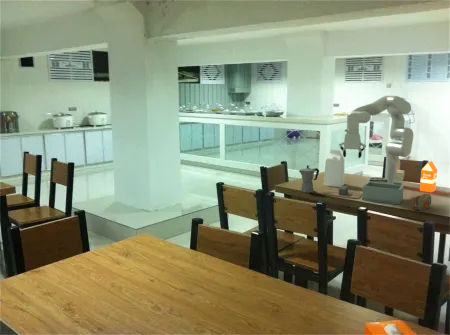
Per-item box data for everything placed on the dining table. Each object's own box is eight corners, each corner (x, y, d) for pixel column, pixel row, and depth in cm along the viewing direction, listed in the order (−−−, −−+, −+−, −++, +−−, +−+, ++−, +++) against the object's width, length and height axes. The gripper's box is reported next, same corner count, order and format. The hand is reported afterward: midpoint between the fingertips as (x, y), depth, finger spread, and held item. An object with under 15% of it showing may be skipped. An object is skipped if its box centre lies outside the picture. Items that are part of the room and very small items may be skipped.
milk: (344, 184, 308) (346, 149, 303) (339, 187, 299) (341, 151, 294) (328, 182, 315) (330, 148, 310) (323, 185, 305) (324, 150, 300)
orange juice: (435, 190, 288) (438, 161, 284) (431, 192, 282) (434, 163, 278) (423, 188, 293) (426, 160, 289) (419, 190, 287) (421, 162, 283)
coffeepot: (301, 193, 282) (302, 167, 278) (295, 190, 291) (295, 164, 287) (321, 191, 286) (322, 165, 283) (315, 188, 295) (315, 163, 292)
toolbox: (368, 193, 280) (369, 178, 278) (403, 197, 269) (404, 182, 267) (362, 199, 265) (362, 184, 263) (399, 204, 254) (400, 188, 252)
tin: (417, 211, 239) (418, 197, 237) (412, 210, 241) (413, 196, 240) (431, 207, 247) (432, 193, 246) (426, 206, 250) (427, 192, 248)
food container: (384, 191, 285) (385, 177, 283) (387, 193, 279) (388, 179, 277) (366, 191, 286) (367, 176, 285) (368, 193, 280) (369, 178, 279)
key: (397, 178, 277) (398, 170, 276) (403, 178, 275) (404, 170, 274) (395, 180, 271) (395, 172, 270) (401, 181, 269) (402, 172, 268)
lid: (329, 191, 289) (329, 183, 288) (363, 195, 278) (363, 186, 277) (323, 195, 278) (323, 187, 276) (358, 200, 266) (358, 191, 265)
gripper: (337, 131, 273) (337, 157, 277) (364, 132, 264) (364, 159, 268) (341, 130, 280) (340, 155, 283) (367, 131, 271) (366, 157, 274)
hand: (352, 157), depth 275 cm, fingers open, 9 cm apart
